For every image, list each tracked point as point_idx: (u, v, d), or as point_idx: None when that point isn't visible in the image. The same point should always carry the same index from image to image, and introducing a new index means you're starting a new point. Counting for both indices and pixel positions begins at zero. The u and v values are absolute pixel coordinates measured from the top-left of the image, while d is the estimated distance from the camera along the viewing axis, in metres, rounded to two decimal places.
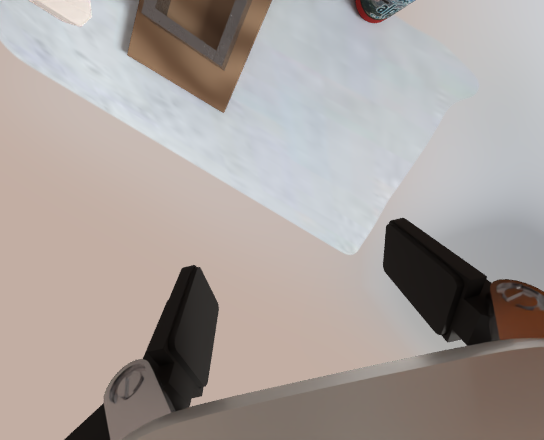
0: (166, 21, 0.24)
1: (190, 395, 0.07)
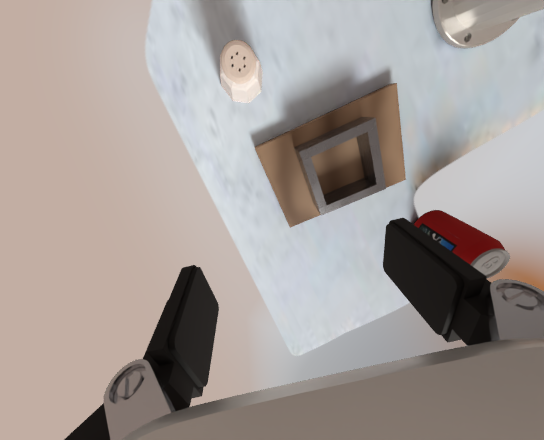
0: (311, 168, 0.27)
1: (190, 395, 0.07)
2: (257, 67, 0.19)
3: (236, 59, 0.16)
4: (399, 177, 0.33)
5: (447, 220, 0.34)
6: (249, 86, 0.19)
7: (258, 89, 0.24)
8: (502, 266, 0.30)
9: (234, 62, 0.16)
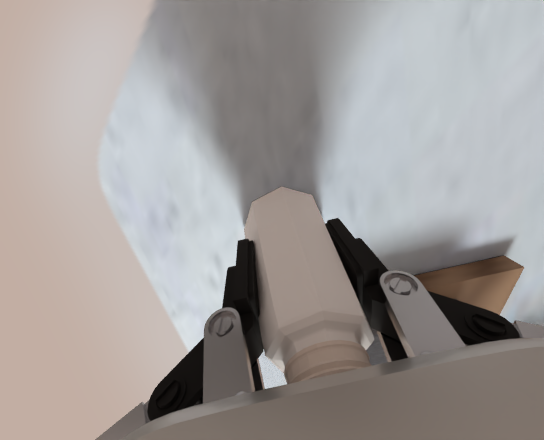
0: None
1: (262, 343, 0.08)
2: (365, 349, 0.07)
3: None
4: None
5: None
6: None
7: None
8: None
9: None
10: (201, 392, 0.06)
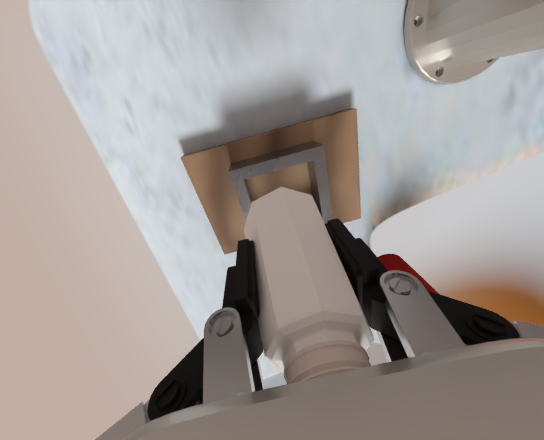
0: (243, 193, 0.22)
1: None
2: (365, 349, 0.07)
3: None
4: (354, 214, 0.29)
5: (400, 268, 0.31)
6: None
7: None
8: None
9: None
10: (201, 392, 0.06)
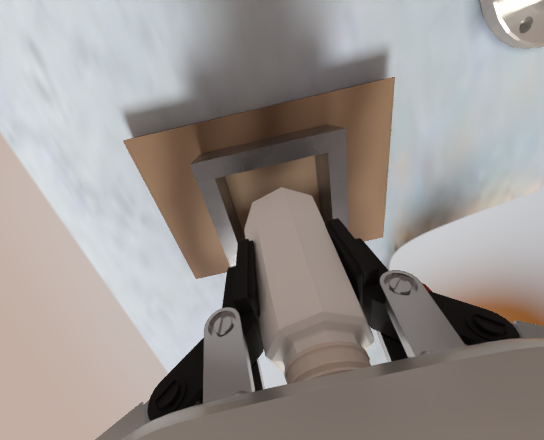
0: (215, 200, 0.14)
1: (262, 343, 0.08)
2: (365, 350, 0.07)
3: None
4: (374, 232, 0.21)
5: None
6: None
7: None
8: None
9: None
10: (201, 392, 0.06)
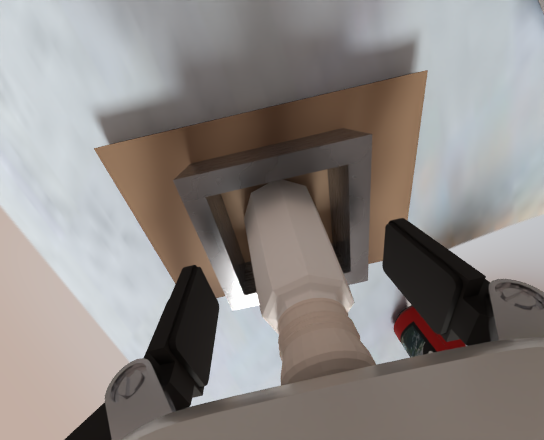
0: (207, 222, 0.11)
1: (191, 394, 0.07)
2: (347, 312, 0.08)
3: None
4: None
5: None
6: None
7: None
8: None
9: None
10: None
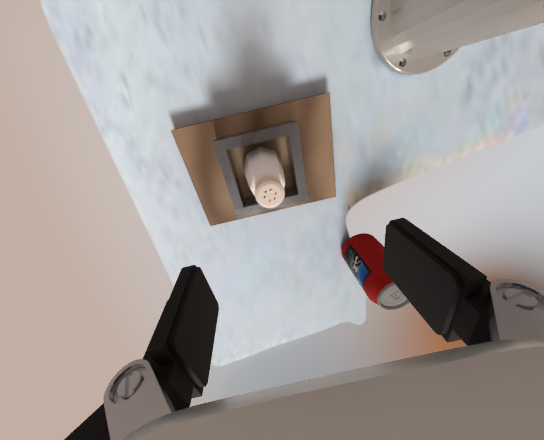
0: (226, 163, 0.25)
1: (190, 395, 0.07)
2: (283, 188, 0.22)
3: (269, 193, 0.19)
4: (329, 193, 0.32)
5: (371, 244, 0.34)
6: None
7: None
8: None
9: (266, 195, 0.19)
10: None
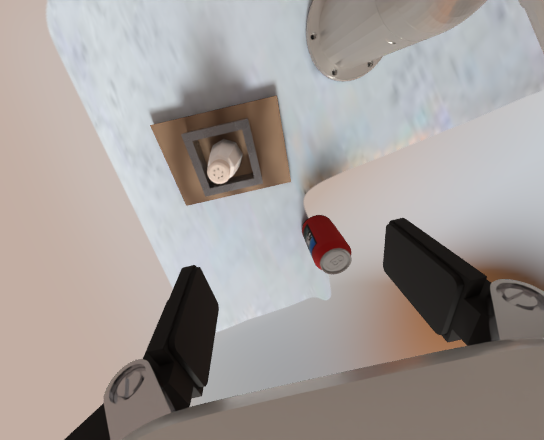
0: (193, 151, 0.31)
1: (190, 395, 0.07)
2: (233, 170, 0.28)
3: (217, 172, 0.25)
4: (285, 178, 0.38)
5: (322, 223, 0.40)
6: None
7: None
8: (347, 265, 0.36)
9: (215, 173, 0.25)
10: None
